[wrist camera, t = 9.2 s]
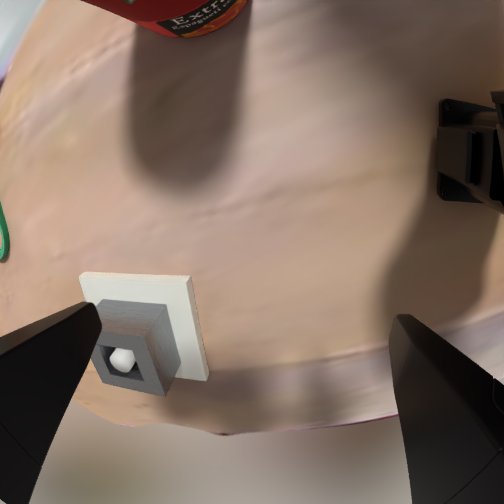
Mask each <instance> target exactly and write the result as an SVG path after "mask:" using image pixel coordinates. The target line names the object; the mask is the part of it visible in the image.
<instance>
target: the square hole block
mask: <svg viewBox="0 0 504 504" xmlns="http://www.w3.org/2000/svg"><path fill="white" fill-rule="evenodd" d="M96 308H97V311H98V314H99V317H100V319H101V322H102V331H101V333H100V336H99V338H98V341H97V343H96V346H95V348H94V350H93V353H92V355H91V360H92V362H93V364H94V366H95V368H96V370H97V372H98V374H99V376H100V378H101V380H102V382H103V383H105V384H109V385H114V386H118V387H122V388H126V389H131V390H135V391H140V392H145V393H150V394H155V395H161V396H166V394H167V392H168V390H169V388H170V386H171V383H172V381H173V379H174V377H175V375H176V373H177V371H178V368H179V366H180V364H181V360H180V356H179V352H178V349H177V345H176V341H175V337H174V334H173V330H172V326H171V322H170V318H169V314H168V309H167V305H166V304H157V303H144V302H131V301H120V300H109V299H102V300H101V301H100V302H99V303H98V304H97V306H96ZM116 348H121V349H127V350H132V351H133V354H134V357H135V359H136V362H135V363H134V365H133V367H132V368H131V370H130V371H129V372H126V373H125V372H121V371H119V370H117V369H116V368H115V367H114V366H113V365H112V364H111V362H110V356H111V355H112V354H113V352H114V351H115V349H116Z"/></svg>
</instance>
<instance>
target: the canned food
mask: <svg viewBox="0 0 504 504" xmlns="http://www.w3.org/2000/svg"><path fill="white" fill-rule="evenodd" d="M81 1H84V2H86V3H89V4H92V5H94V6H97V7H100V8H102V9H105V10H107V11H110V12H112V13H114V14H117V15H119V16H121V17H124V18H126V19H128V20H130V21H133V22H135V23H137V24H139V25H141V26H143V27H146V28H148V29H150V30H152V31H154V32H156V33H159V34H162V35H164V36H169V37H177V38H179V37H194V36H199V35H204V34H207V33H210V32H213V31H215V30H217V29H219V28H221V27H223V26H224V25H226V24H227V23H229V22H230V21H231V20H232V19H234V18H235V17H236V15H237V14H238V13H239V12H240V11H241V10H242V8H243V7H244V5H245V3H246V2H247V0H81Z"/></svg>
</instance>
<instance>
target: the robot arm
mask: <svg viewBox="0 0 504 504" xmlns="http://www.w3.org/2000/svg"><path fill="white" fill-rule="evenodd" d="M490 93H491V97H492V101H493V103H495V106H496V109H493V108H489V107H485V106H480V105H476V104H472V103H467V102H462V101H457V100H452V99H442V100H441V101H440V103H439V128H438V129H437V152H436V168H437V170H438V181H437V195H438V197H439V198H441V199H442V200H445V201H460V202H473V203H485V204H487V205H489V206H490V207H492V208H494V209H495V210H497V211H499V212H500V213H502V214H504V90H502V91H491V92H490ZM446 103H447V104H448V105H449V109H448V110H447V109H446V108H445V104H446ZM444 189H446V194H445V195H443V194H442V192H443V190H444ZM101 331H102V322H101V319H100V317H99V314H98V311H97V308H96V306H95V304H94V303H92V302H81V303H78V304H76V305H73V306H71V307H69V308H66V309H64V310H62V311H59V312H57V313H55V314H52V315H50V316H48V317H45V318H43V319H41V320H38V321H36V322H34V323H31V324H29V325H27V326H25V327H22V328H20V329H18V330H15V331H13V332H11V333H9V334H6V335H4V336H2V337H0V499H1V500H2V501H3V502H5V503H6V504H29V502H30V499H31V496H32V493H33V490H34V487H35V484H36V482H37V479H38V476H39V474H40V471H41V468H42V467H41V466H42V465H43V463H44V460H45V458H46V455H47V453H48V450H49V448H50V445H51V443H52V441H53V438H54V436H55V434H56V431H57V429H58V427H59V425H60V422H61V420H62V418H63V416H64V413H65V411H66V409H67V407H68V405H69V403H70V400H71V398H72V396H73V394H74V392H75V390H76V388H77V386H78V384H79V382H80V380H81V378H82V376H83V374H84V372H85V370H86V368H87V365H88V363H89V361H90V358H91V355H92V353H93V350H94V348H95V346H96V343H97V341H98V338H99V336H100V333H101ZM389 352H390V359H391V368H392V377H393V387H394V394H395V399H396V404H397V409H398V414H399V419H400V423H401V429H402V434H403V440H404V446H405V452H406V459H407V464H408V472H409V479H410V487H411V496H412V504H504V385H503V384H502V383H501V382H499V381H498V380H497V379H496V378H494V379H493V376H492V375H490V374H489V373H488V372H487V371H485V370H484V369H483V368H481V367H480V366H479V365H477V364H476V363H475V362H474V361H472V360H471V359H470V358H468V357H467V356H466V355H464V354H463V353H462V352H460V351H459V350H458V349H457V348H455V347H454V346H453V345H451V344H450V343H449V342H447V341H446V340H444V339H443V338H442V337H440V336H439V335H438V334H436V333H435V332H434V331H432V330H431V329H430V328H428V327H427V326H426V325H424V324H423V323H421V322H420V321H419V320H417V319H416V318H415V317H413V316H412V315H410V314H397V315H396V316H395V317H394V320H393V324H392V328H391V333H390V337H389Z"/></svg>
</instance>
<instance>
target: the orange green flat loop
mask: <svg viewBox="0 0 504 504" xmlns="http://www.w3.org/2000/svg"><path fill="white" fill-rule="evenodd" d="M0 231H1V235H2V248H1V249H0V259H2V258H3V257H4V256H5V255H6V254H7V252H8V249H9V233H8V228H7V224H6V221H5V217H4V214H3V210H2V206H1V203H0Z"/></svg>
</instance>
